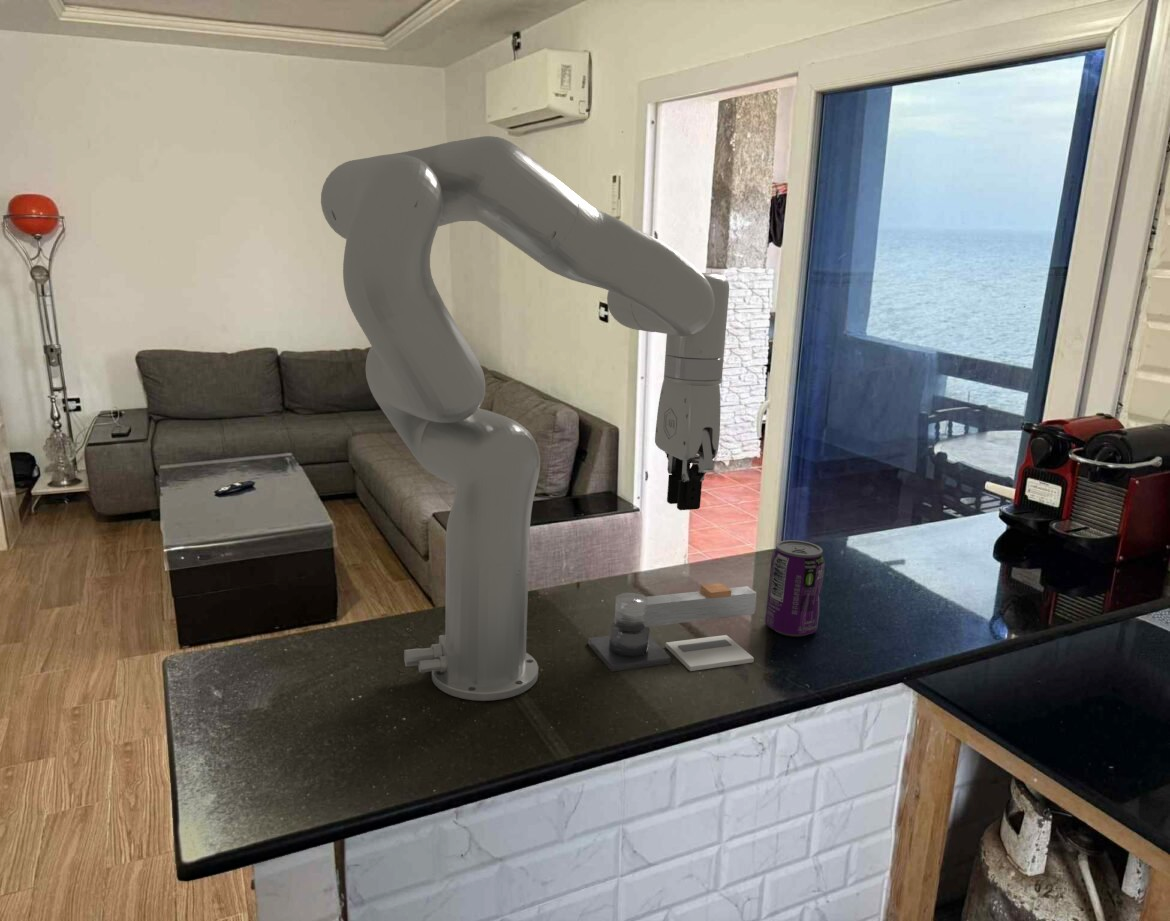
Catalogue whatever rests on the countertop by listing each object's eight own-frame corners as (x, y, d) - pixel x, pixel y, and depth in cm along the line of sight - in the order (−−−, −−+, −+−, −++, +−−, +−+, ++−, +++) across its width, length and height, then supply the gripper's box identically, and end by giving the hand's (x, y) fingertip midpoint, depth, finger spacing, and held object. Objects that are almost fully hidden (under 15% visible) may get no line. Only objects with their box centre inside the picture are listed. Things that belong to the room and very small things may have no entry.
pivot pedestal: (611, 671, 105) (612, 645, 105) (588, 643, 113) (589, 618, 112) (670, 663, 108) (672, 637, 107) (643, 636, 115) (645, 612, 115)
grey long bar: (621, 632, 107) (623, 604, 106) (609, 619, 111) (611, 592, 110) (758, 616, 114) (760, 589, 113) (742, 604, 117) (744, 578, 117)
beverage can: (818, 643, 116) (828, 558, 113) (764, 636, 117) (772, 553, 115) (815, 622, 123) (824, 542, 120) (764, 616, 124) (772, 536, 121)
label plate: (690, 671, 106) (690, 665, 106) (665, 646, 113) (665, 641, 113) (753, 662, 110) (754, 656, 109) (725, 639, 116) (726, 633, 116)
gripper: (641, 362, 118) (633, 491, 122) (696, 379, 103) (685, 525, 108) (690, 362, 121) (681, 489, 125) (750, 378, 106) (737, 521, 110)
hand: (683, 504), depth 116 cm, fingers closed
